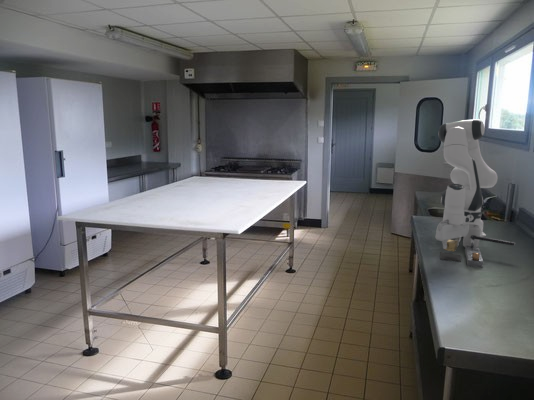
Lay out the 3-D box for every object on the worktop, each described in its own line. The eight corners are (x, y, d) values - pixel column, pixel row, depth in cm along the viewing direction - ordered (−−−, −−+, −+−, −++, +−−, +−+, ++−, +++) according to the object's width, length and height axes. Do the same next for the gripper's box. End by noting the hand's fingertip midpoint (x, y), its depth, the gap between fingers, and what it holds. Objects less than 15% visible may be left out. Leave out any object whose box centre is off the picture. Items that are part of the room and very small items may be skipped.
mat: (440, 253, 206) (440, 252, 206) (460, 255, 203) (460, 254, 203) (440, 259, 197) (440, 258, 197) (461, 261, 194) (461, 260, 194)
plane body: (464, 251, 210) (466, 237, 209) (478, 252, 208) (479, 238, 207) (467, 266, 188) (469, 250, 187) (482, 268, 186) (484, 252, 184)
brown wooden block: (447, 247, 203) (447, 239, 202) (456, 249, 200) (457, 240, 199) (444, 249, 198) (444, 241, 198) (454, 251, 196) (454, 243, 195)
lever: (469, 238, 207) (470, 235, 206) (471, 237, 208) (471, 234, 208) (513, 245, 194) (514, 243, 194) (515, 244, 196) (515, 242, 196)
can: (480, 250, 212) (482, 227, 210) (464, 249, 213) (466, 226, 211) (476, 246, 219) (478, 223, 217) (460, 245, 221) (463, 223, 219)
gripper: (445, 222, 189) (442, 252, 191) (472, 217, 199) (469, 245, 202) (433, 219, 194) (430, 248, 196) (460, 215, 204) (457, 242, 207)
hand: (450, 247), depth 199 cm, fingers closed on brown wooden block, 7 cm apart
